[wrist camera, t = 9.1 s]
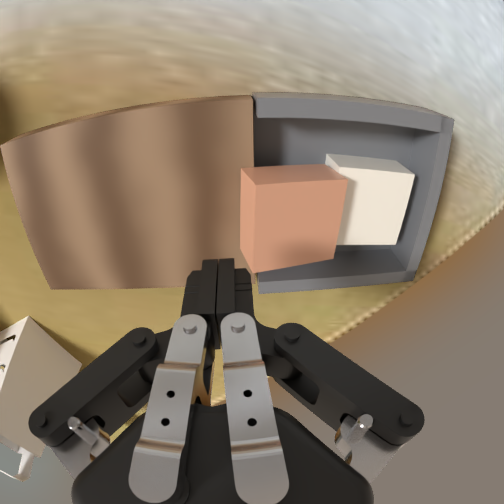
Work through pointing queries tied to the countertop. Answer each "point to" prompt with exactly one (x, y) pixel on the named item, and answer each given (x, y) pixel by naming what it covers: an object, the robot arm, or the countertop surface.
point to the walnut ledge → (134, 192)
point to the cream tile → (372, 199)
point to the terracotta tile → (290, 214)
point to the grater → (29, 385)
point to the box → (364, 145)
